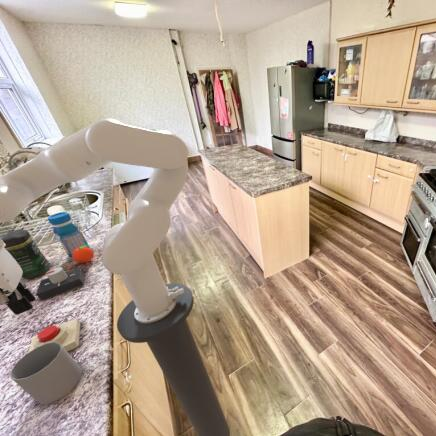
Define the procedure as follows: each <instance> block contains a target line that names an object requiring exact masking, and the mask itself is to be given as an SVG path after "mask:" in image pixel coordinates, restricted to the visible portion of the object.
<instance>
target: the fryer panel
mask: <svg viewBox="0 0 436 436" xmlns="http://www.w3.org/2000/svg"><path fill="white" fill-rule="evenodd" d="M65 273H66V274H67V276H68V277H67V279H65V280H64V281H62V282H60V283H56V284H53V283H52V282H51V280H50V279H49V278H48V277H47V278H43V279H41V280H40V282H39V285H38V287H37V291H36V293H35V295H36V296H37V298H38V299H39V300H40V301H44V300H46V299H49V298H52V297H55V296H57V295H60V294H62V293H66V292H68V291H71V290H73V289H76V288H79V287H81V286H84V284H85V273H86V272H85V270H84V269H83V268H82V266H80V267H77V268H73V269H71V270H67V271H65Z"/></svg>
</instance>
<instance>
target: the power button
mask: <svg viewBox="0 0 436 436" xmlns="http://www.w3.org/2000/svg"><path fill="white" fill-rule="evenodd" d="M55 325H56V324H53V325H49V326H47V327H45V328H44V329H42V330H41V331H40V332H39V333H38V334H37V335H38V336H37V337H38V339H39V340H40V341H41V342H47V341H49V340H52V339H53V338H54V337H56V336H57V335H58V334H59V333H60V330H59V329H58V327H57V326H55Z"/></svg>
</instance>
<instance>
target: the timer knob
mask: <svg viewBox="0 0 436 436" xmlns="http://www.w3.org/2000/svg"><path fill="white" fill-rule="evenodd" d="M65 272H66V271H65V269H64V268H63V267H61V266H58V267H55V268H52V269H50V270H49V271H46V272H45V275H46V277H47V278H49V279H50V280H51V282H52V283H53V284H56V283H60V282H62V281H64V280H65V279H67V277H68V276H67V274H66V273H65Z"/></svg>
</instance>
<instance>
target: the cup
mask: <svg viewBox="0 0 436 436" xmlns="http://www.w3.org/2000/svg"><path fill="white" fill-rule="evenodd" d="M28 352H29V351H28ZM28 352H27V353H25V354H24V355H23V356H22V357H21V358H20V359H18V361H17V362H16V363H15V364H14V365H13V367H12V368H11V370H10V376H9V378H10V379H11V380H13V382H14V383H15V384H17V385H18V386H19V387H20V388H21V389H22V390H23V391H24V392H26V393H27V394H28V395H29V396H30V398H32V399H33V400H35V402H37V403H38V404H40V405H43V406H44V405H49V404H53V403H55V402H57V401H59V400H61V399H62V398H64V397H65V396H67V395H68V394H69V393H70V392H71V391H73V389H74V388H75V387H76V386H77V384H78V383H79V382H80V380H81V377H82V375H83V372H82V371H83V370H82V367H80V365H79V364H78V363H77V361H75V359H74V358H73V357H72V355H71V354H70V353H69V351H68V352H67V351H66V350H65V349H64V347H63V346H62V345H61V344H60V343H57V342H52V343H46V344H44V345H42V346H39V347H37V348H35V349H33V350H32V351H30V352H29V353H28Z"/></svg>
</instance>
